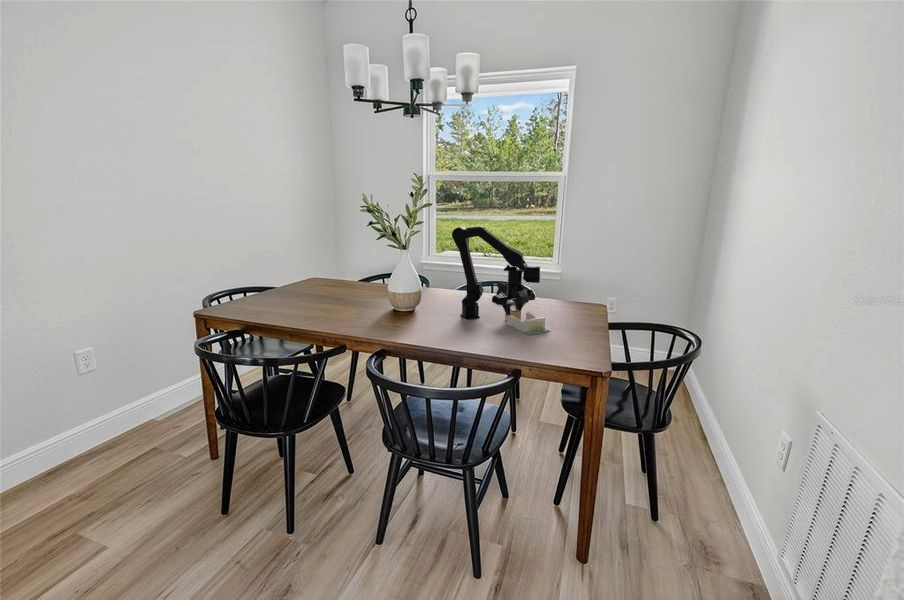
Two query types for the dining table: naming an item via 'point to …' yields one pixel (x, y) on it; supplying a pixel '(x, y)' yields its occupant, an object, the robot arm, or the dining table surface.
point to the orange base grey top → (514, 313)
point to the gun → (502, 289)
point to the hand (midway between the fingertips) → (512, 317)
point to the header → (528, 324)
